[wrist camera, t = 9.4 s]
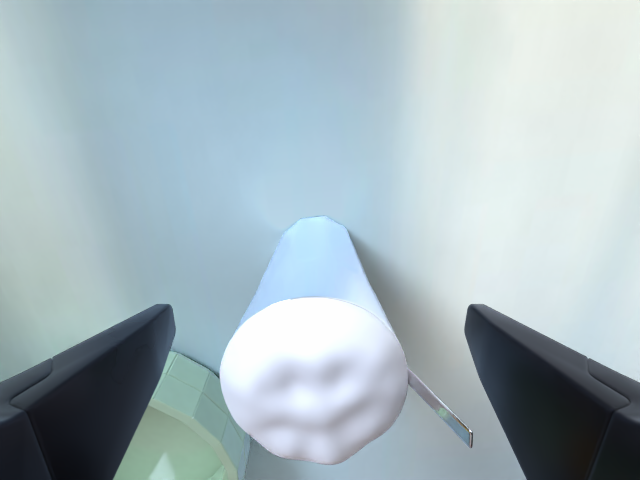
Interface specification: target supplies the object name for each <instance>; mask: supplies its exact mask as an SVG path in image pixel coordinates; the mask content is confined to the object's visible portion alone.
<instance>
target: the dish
mask: <svg viewBox="0 0 640 480" xmlns="http://www.w3.org/2000/svg"><path fill="white" fill-rule="evenodd" d="M250 444H251V443H250V435H249V434H248V433H246V432H245V431H244V430H243V429H242V428H241V427H240V426H239V425H238V424H237V423H236V421H235V420H234V418H233V417H232V415H231V413H230V411H229V409H228V407H227V405H226V402H225V399H224V396H223V393H222V389H221V383H220V379H219V378H218V377H217V376H216V375H215V374H214V373H213V372H212V371H210V370H209V369H208V368H206V367H204V366H202V365H200V364H198V363H196V362H195V361H193V360H191V359H189V358H187V357H185V356H183V355H182V354H180V353H178V354H177V352H173V351H169V354H168V357H167V360H166V364H165V367H164V370H163V372H162V375H161V378H160V380H159V383H158V385H157V387H156V389H155V391H154V393H153V396H152V398H151V400H150V402H149V404H148V406H147V408H146V411H145V413H144V415H143V417H142V419H141V421H140V423H139V425H138V428H137V430H136V432H135V434H134V436H133V438H132V440H131V443H130V445H129V447H128V449H127V451H126V453H125V455H124V458H123V460H122V462H121V464H120V466H119V468H118V470H117V472H116V475H115V477H114V479H113V480H244V476H245V470H246V466H247V461H248V455H249V450H250Z"/></svg>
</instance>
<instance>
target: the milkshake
mask: <svg viewBox="0 0 640 480" xmlns="http://www.w3.org/2000/svg"><path fill="white" fill-rule="evenodd" d="M220 383H221V389H222V393H223V396H224V399H225V402H226V405H227V407H228V409H229V411H230V413H231V415H232V417H233V418H234V420H235V421H236V423H237V424H238V425H239V426H240V427H241V428H242V429H243V430H244V431H245V432H246V433H248V434H249V435H250V436H251V437H253V438H254V439H255V440H256V441H257V442H259V443H260V444H261V445H262V446H263V447H264V448H266V449H267V450H268V451H269V452H271V453H272V454H274V455H276V456H278V457H281V458H286V459H293V460H302V461H310V462H315V463H319V464H325V465H334V464H338V463H341V462H343V461H345V460H347V459H348V458H350V457H351V456H352V455H354V454H355V453H356V452H358V451H359V450H360V449H362V448H363V447H364V446H365V445H367V444H368V443H369V442H371V441H373V440H374V439H376V438H378V437H379V436H381V435H382V434H384V433H385V432H386V431H387V430H388V429H389V428H390V427H391V426H392V425H393V423H394V422H395V420H396V419H397V417H398V416H399V414H400V412H401V410H402V407H403V405H404V402H405V399H406V394H407V389H408V384H409V385H410V386H411V387H412V388H413V389H414V390H415V391H416V392H417V393H418V395H419V396H420V397H421V398H422V399H423V400H424V401H425V402H426V403H427V404H428V405H429V406H430V407H431V408H432V409H433V410H434V411H435V412H436V413H437V414H438V415H439V417H440V418H441V419H442V420H443V421H444V422H445V423H446V424H447V425H448V426H449V427H450V428H451V429H452V430H453V431H454V432H455V433H456V434H457V435H458V436H459V438H460V439H461V440H462V441H463V442H464V443H465V444H466V445H467V446H468V447H469V448H472V442H473V433H472V431H471V430H470V429H469V428H468V427H467V426H466V425H465V423H464V422H462V421H461V420H460V419H459V418H458V417H457V416H456V415H455V414H454V413H453V412H452V411H451V410H450V409H449V408H448V407H447V406H446V405H445V404H444V403H443V402H442V401H441V400H440V399H439V398H438V397H437V396H436V395H435V394H434V393H433V392H432V391H431V390H430V389H429V388H428V387H427V386H426V385H425V384H424V383H423V382H422V381H421V380H420V379H419V378H418V377H417V376H416V375H415V374H414V373H413V372H412V371H411V370H410V369H409V368H408V366H407V362H406V358H405V354H404V351H403V349H402V347H401V345H400V343H399V341H398V339H397V337H396V335H395V333H394V330H393V328H392V326H391V324H390V322H389V320H388V318H387V316H386V314H385V312H384V310H383V308H382V306H381V304H380V302H379V300H378V298H377V296H376V294H375V292H374V291H373V289H372V287H371V285H370V283H369V281H368V279H367V276H366V274H365V271H364V269H363V266H362V264H361V261H360V259H359V256H358V254H357V252H356V249H355V247H354V245H353V243H352V241H351V238H350V236H349V234H348V232H347V229H346V227H344V226H342V225H340V224H339V223H337V222H335V221H333V220H331V219H329V218H327V217H326V216H319V217H310V218H301V219H299V220H298V221H297V222H296V223H295V224H294V225H293V226H291V227H290V228H289V229H288V230H287V231H286V232H285V233H283V235H282V237H281V239H280V241H279V243H278V245H277V248H276V250H275V252H274V254H273V256H272V258H271V260H270V263H269V265H268V267H267V269H266V271H265V273H264V275H263V278H262V280H261V282H260V284H259V286H258V289H257V291H256V293H255V295H254V296H253V298H252V300H251V302H250V304H249V306H248V308H247V310H246V312H245V313H244V315H243V317H242V319H241V321H240V323H239V325H238V326H237V328H236V330H235V332H234V334H233V336H232V338H231V340H230V342H229V344H228V346H227V348H226V350H225V353H224V355H223V358H222V362H221V366H220Z"/></svg>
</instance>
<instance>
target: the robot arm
mask: <svg viewBox="0 0 640 480" xmlns="http://www.w3.org/2000/svg"><path fill="white" fill-rule="evenodd" d="M175 331H176V328H175V321H174V315H173V309H172V307H171V305H169V304H156V305H154V306H152V307H150V308H148V309H146V310H144V311H142V312H140V313H138V314H136V315H134V316H132V317H130V318H128V319H127V320H125V321H123V322H121V323H119V324H117V325H115V326H113V327H111V328H109V329H107V330H105V331H103V332H101V333H99V334H97V335H95V336H93V337H91V338H89V339H87V340H85V341H83V342H81V343H79V344H77V345H76V346H74V347H72V348H70V349H68V350H66V351H64V352H62V353H60V354H58V355H56V356H54V357H53V358H52V359H51V358H50V359H48V360H46V361H44V362H42V363H40V364H38V365H36V366H34V367H32V368H30V369H28V370H26V371H24V372H22V373H20V374H18V375H16V376H14V377H11V378H9V379H7V380H5V381H3V382H1V383H0V480H113V479H114V477H115V475H116V472H117V470H118V468H119V466H120V464H121V462H122V460H123V458H124V455H125V453H126V451H127V449H128V447H129V445H130V443H131V440H132V438H133V436H134V434H135V432H136V430H137V428H138V425H139V423H140V421H141V419H142V417H143V415H144V413H145V411H146V408H147V406H148V404H149V402H150V400H151V398H152V396H153V393H154V391H155V389H156V387H157V385H158V383H159V380H160V378H161V375H162V372H163V370H164V367H165V364H166V360H167V357H168V354H169V351H170V348H171V345H172V342H173V339H174V336H175ZM464 331H465V336H466V339H467V342H468V345H469V348H470V351H471V354H472V357H473V360H474V364H475V367H476V370H477V372H478V375H479V378H480V380H481V383H482V385H483V387H484V389H485V391H486V393H487V396H488V398H489V400H490V402H491V404H492V406H493V408H494V411H495V413H496V415H497V417H498V419H499V421H500V423H501V425H502V428H503V430H504V432H505V434H506V436H507V438H508V440H509V443H510V445H511V447H512V449H513V451H514V453H515V455H516V458H517V460H518V462H519V464H520V466H521V468H522V470H523V472H524V475H525V477H526V479H527V480H640V383H639V382H637V381H635V380H633V379H631V378H629V377H626V376H624V375H622V374H620V373H618V372H616V371H614V370H612V369H610V368H608V367H606V366H604V365H602V364H600V363H598V362H596V361H594V360H592V359H590V358H589V359H588V358H587V357H586V356H584V355H582V354H580V353H578V352H576V351H574V350H572V349H570V348H568V347H566V346H564V345H563V344H561V343H559V342H557V341H555V340H553V339H551V338H549V337H547V336H545V335H543V334H541V333H539V332H537V331H535V330H533V329H531V328H529V327H527V326H525V325H523V324H521V323H519V322H517V321H515V320H513V319H512V318H510V317H508V316H506V315H504V314H502V313H500V312H498V311H496V310H494V309H492V308H490V307H488V306H486V305H484V304H471V305H469V307H468V309H467V315H466V321H465V328H464Z"/></svg>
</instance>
